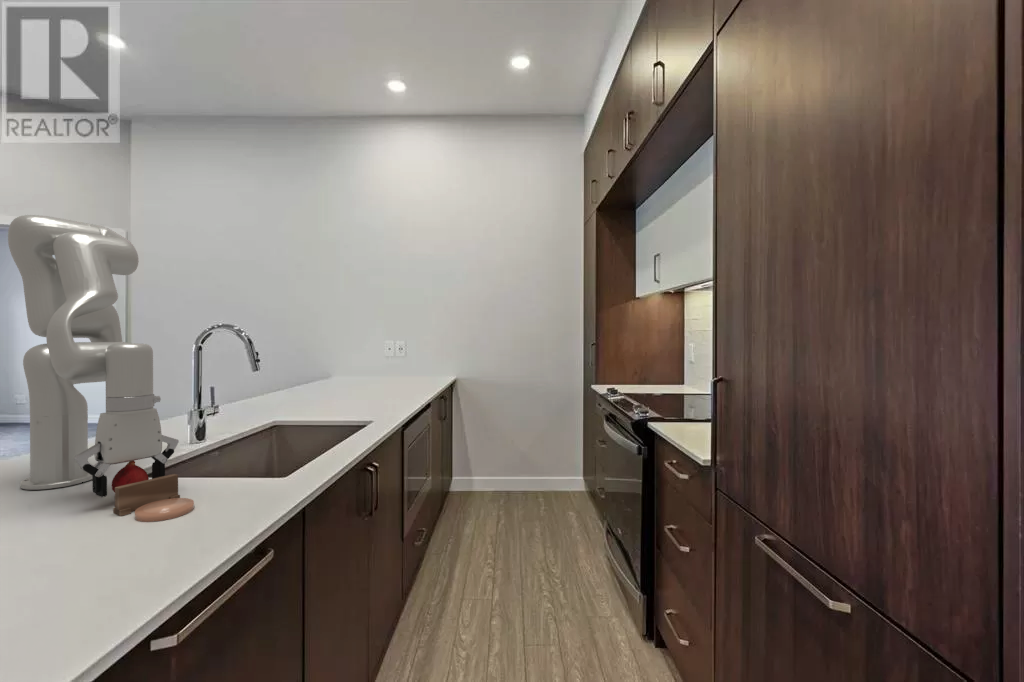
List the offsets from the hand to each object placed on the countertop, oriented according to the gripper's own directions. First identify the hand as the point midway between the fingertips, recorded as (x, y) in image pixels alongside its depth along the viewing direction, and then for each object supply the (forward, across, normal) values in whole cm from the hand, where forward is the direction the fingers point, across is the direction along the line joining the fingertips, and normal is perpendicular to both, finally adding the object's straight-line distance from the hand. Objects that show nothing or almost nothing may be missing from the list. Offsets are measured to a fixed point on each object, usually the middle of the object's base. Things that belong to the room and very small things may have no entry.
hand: (130, 488), depth 96 cm
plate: (+2, 0, +13) cm, 14 cm away
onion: (+3, 0, 0) cm, 3 cm away
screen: (+2, 0, +7) cm, 7 cm away
